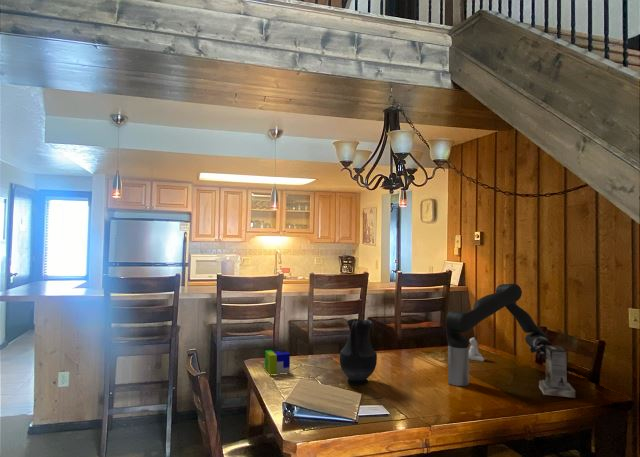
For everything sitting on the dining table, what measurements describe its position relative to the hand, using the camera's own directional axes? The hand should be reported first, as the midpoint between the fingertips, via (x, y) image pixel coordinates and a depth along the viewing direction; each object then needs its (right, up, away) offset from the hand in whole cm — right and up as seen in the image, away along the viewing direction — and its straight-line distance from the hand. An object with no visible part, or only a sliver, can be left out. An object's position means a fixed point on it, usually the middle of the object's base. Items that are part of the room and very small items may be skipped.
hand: (549, 353), depth 199 cm
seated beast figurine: (-20, -15, +42) cm, 48 cm away
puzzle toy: (-128, -15, +17) cm, 130 cm away
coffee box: (-3, -11, -10) cm, 15 cm away
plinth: (-3, -14, -10) cm, 18 cm away
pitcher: (-89, -14, 0) cm, 90 cm away
